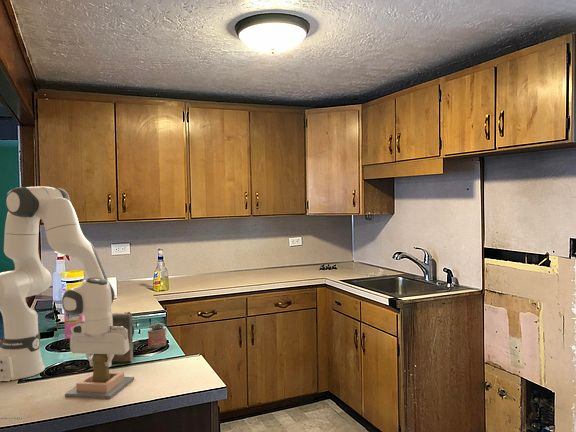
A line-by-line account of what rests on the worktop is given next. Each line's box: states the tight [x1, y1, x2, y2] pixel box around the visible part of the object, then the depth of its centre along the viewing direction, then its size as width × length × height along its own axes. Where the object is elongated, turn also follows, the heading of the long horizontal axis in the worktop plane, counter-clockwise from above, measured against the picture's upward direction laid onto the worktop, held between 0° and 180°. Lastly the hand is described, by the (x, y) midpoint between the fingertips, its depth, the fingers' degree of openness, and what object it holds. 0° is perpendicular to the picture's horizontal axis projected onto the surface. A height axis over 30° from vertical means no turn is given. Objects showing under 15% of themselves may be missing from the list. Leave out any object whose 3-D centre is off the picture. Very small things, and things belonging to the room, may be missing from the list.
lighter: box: [147, 322, 167, 350], centre depth 203 cm, size 8×3×10 cm, turn 130°
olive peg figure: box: [92, 354, 110, 383], centre depth 159 cm, size 6×6×11 cm
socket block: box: [64, 371, 136, 400], centre depth 159 cm, size 16×16×4 cm
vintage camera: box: [111, 311, 141, 364], centre depth 190 cm, size 10×15×20 cm, turn 2°
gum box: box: [63, 309, 85, 340], centre depth 230 cm, size 24×8×14 cm, turn 13°
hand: (100, 366), depth 159 cm, fingers closed on olive peg figure, 4 cm apart
